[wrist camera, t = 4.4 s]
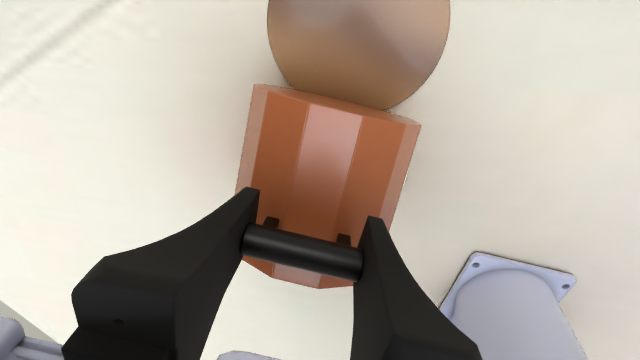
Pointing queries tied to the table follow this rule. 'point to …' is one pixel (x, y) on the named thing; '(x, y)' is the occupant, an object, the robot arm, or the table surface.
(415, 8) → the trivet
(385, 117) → the pot
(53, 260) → the table surface
